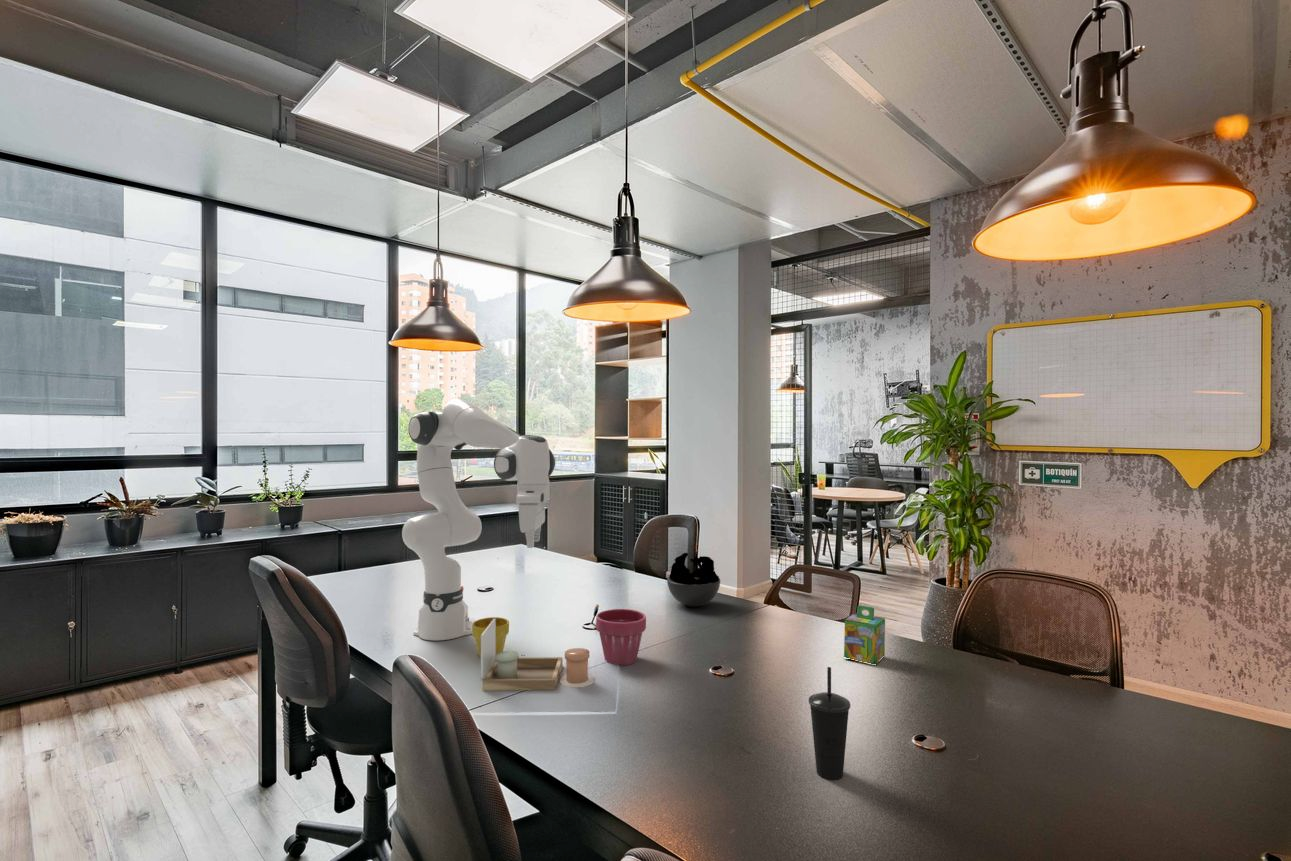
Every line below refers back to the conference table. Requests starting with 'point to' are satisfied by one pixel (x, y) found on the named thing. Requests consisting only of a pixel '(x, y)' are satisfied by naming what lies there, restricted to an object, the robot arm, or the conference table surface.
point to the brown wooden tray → (527, 675)
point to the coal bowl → (693, 581)
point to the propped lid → (488, 649)
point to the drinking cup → (829, 731)
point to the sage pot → (507, 664)
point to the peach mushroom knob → (577, 665)
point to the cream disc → (567, 684)
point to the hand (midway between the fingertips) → (533, 544)
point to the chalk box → (864, 636)
